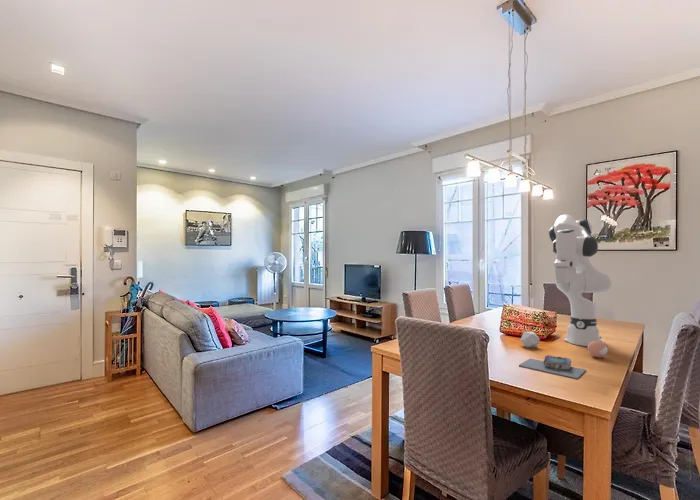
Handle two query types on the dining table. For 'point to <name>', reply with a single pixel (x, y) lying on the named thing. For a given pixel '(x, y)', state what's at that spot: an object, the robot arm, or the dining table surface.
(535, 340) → the die
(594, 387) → the dining table surface
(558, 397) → the dining table surface
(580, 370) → the mat
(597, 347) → the toy ball
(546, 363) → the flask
